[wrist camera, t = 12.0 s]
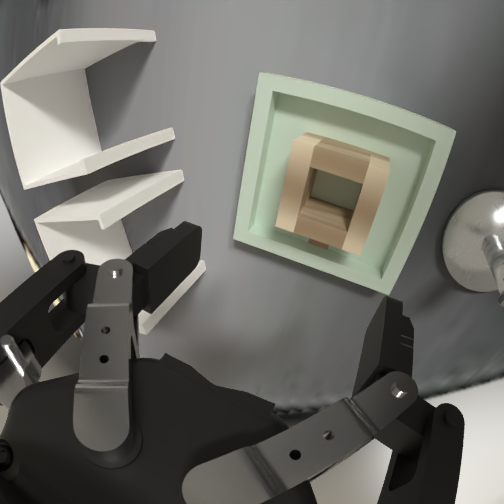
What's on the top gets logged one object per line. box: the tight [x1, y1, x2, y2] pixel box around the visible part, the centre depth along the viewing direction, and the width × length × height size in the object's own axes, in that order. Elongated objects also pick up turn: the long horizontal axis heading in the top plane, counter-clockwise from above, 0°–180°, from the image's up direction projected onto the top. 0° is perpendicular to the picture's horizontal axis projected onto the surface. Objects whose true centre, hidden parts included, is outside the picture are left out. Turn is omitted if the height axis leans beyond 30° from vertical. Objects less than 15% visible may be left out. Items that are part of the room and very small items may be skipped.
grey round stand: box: [442, 189, 504, 307], centre depth 18 cm, size 9×9×7 cm
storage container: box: [0, 28, 206, 335], centre depth 27 cm, size 25×11×11 cm, turn 8°
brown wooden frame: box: [275, 132, 390, 256], centre depth 23 cm, size 8×6×4 cm
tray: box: [233, 72, 456, 295], centre depth 23 cm, size 14×14×2 cm
